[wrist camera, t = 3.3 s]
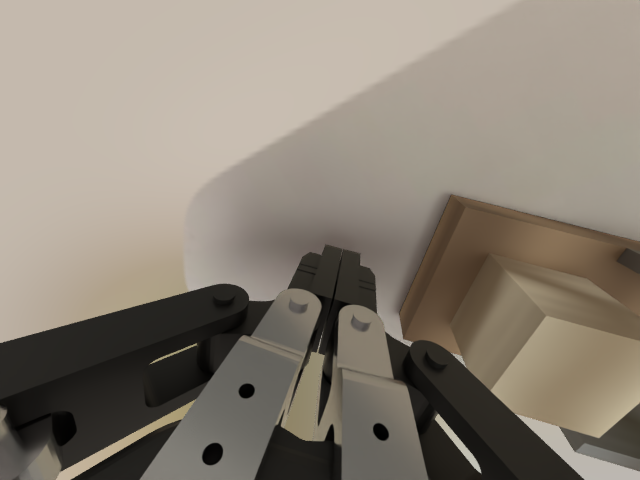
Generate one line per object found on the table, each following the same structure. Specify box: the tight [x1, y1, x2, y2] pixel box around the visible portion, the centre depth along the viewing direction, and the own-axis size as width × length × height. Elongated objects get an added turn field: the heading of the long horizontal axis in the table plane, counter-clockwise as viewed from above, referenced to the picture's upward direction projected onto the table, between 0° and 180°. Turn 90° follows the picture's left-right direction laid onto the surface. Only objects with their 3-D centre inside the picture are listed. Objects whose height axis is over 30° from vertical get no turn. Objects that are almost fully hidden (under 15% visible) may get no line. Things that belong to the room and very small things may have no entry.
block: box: [450, 253, 640, 438], centre depth 10 cm, size 4×4×4 cm
